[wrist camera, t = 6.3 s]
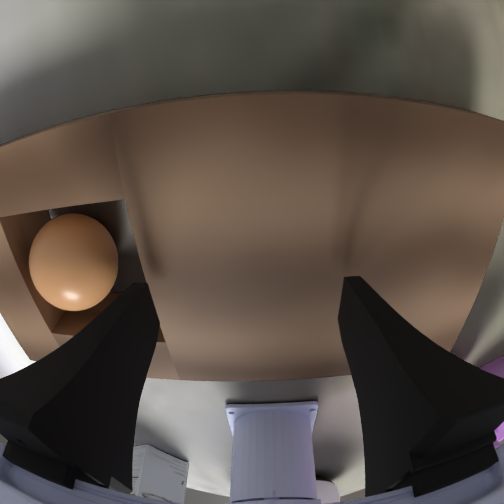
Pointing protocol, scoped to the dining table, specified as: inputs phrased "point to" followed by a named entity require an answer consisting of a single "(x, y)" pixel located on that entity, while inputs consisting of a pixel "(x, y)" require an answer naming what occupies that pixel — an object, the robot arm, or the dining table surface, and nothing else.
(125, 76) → the dining table surface
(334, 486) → the milk container
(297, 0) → the dining table surface
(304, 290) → the platform
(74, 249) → the ball
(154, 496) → the supplement box
